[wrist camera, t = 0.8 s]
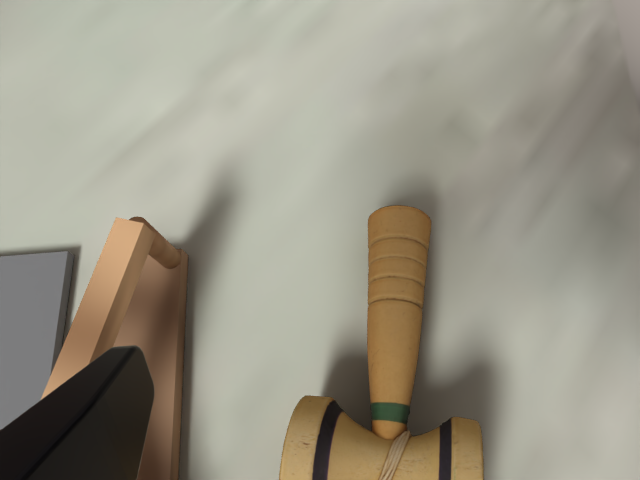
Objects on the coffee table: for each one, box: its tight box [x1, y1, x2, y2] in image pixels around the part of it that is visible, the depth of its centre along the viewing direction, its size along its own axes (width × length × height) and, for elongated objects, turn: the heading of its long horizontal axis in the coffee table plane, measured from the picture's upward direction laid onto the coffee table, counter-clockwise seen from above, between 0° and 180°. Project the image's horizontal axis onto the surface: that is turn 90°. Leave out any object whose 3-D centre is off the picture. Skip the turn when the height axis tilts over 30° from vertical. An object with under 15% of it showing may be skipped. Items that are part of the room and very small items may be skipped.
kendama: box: [279, 205, 484, 480], centre depth 19 cm, size 8×6×18 cm
